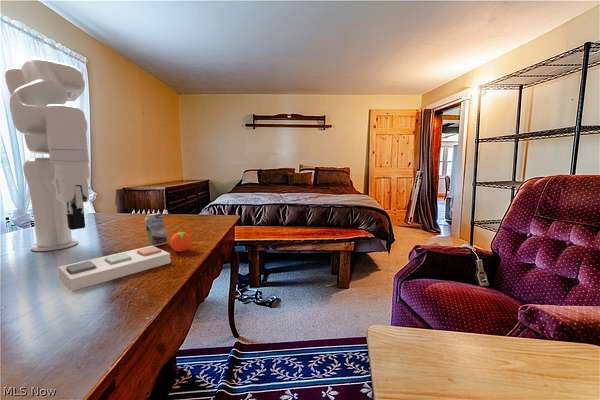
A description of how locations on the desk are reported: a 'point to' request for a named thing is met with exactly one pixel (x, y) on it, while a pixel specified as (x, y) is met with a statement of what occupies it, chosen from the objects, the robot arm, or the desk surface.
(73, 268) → the charcoal button
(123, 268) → the panel
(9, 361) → the desk surface
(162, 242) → the beverage can
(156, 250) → the terracotta button
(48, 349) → the desk surface
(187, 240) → the clementine
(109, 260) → the sage button
